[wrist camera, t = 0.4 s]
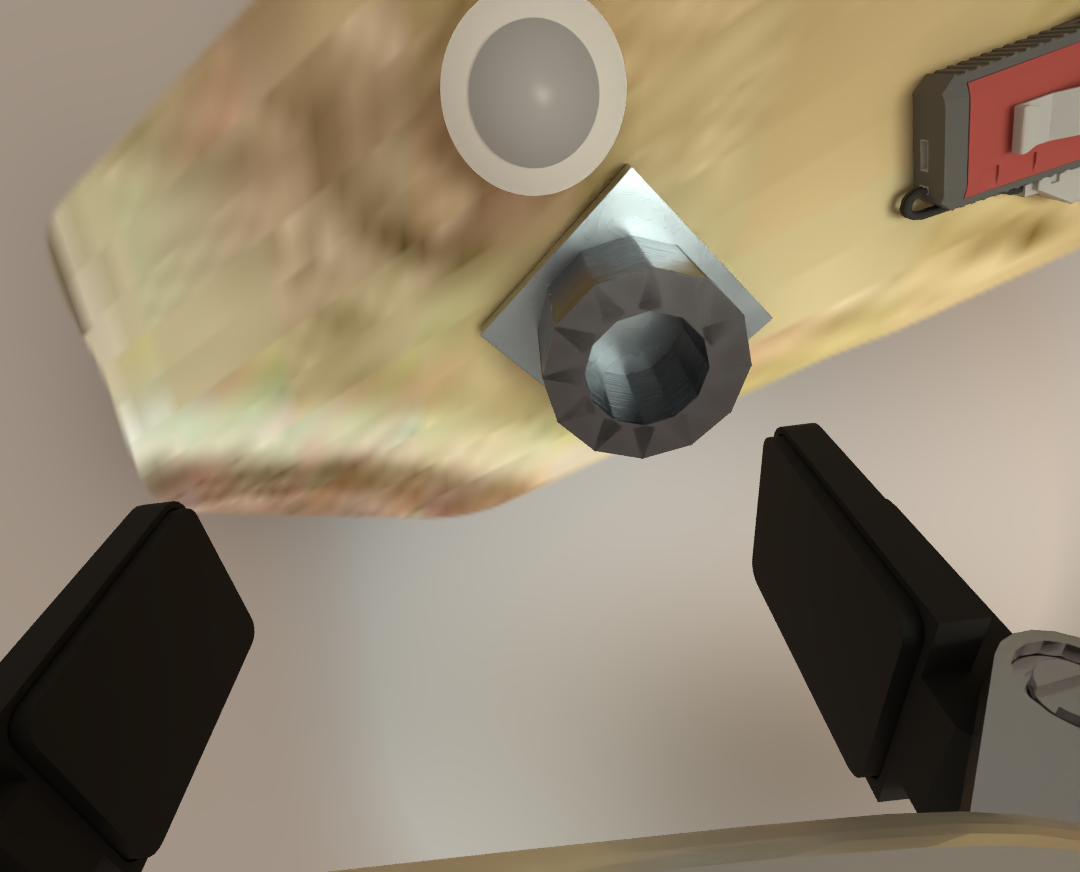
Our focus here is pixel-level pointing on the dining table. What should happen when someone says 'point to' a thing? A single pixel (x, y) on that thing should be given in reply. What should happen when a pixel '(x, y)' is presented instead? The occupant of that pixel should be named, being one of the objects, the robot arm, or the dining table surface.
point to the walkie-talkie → (1000, 125)
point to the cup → (533, 92)
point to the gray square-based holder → (631, 326)
